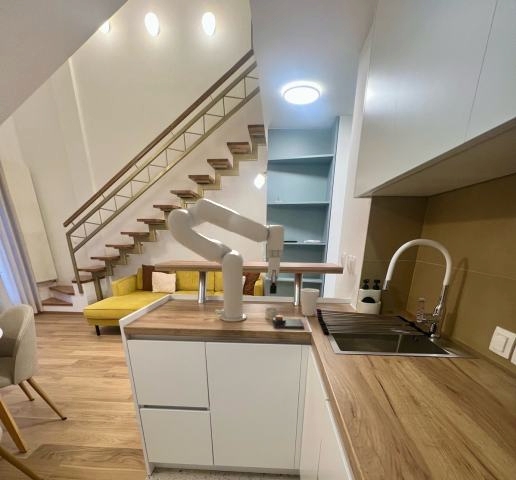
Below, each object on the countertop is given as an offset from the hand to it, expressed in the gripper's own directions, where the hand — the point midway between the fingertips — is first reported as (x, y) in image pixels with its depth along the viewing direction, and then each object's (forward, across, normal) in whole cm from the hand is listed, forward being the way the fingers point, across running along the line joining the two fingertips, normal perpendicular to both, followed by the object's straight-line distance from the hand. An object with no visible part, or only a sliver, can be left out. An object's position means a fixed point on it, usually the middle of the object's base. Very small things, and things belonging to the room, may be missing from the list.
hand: (273, 293), depth 136 cm
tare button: (+10, +10, +3) cm, 14 cm away
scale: (+13, +9, +8) cm, 18 cm away
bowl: (+13, -1, 0) cm, 13 cm away
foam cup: (+13, -10, +19) cm, 25 cm away
